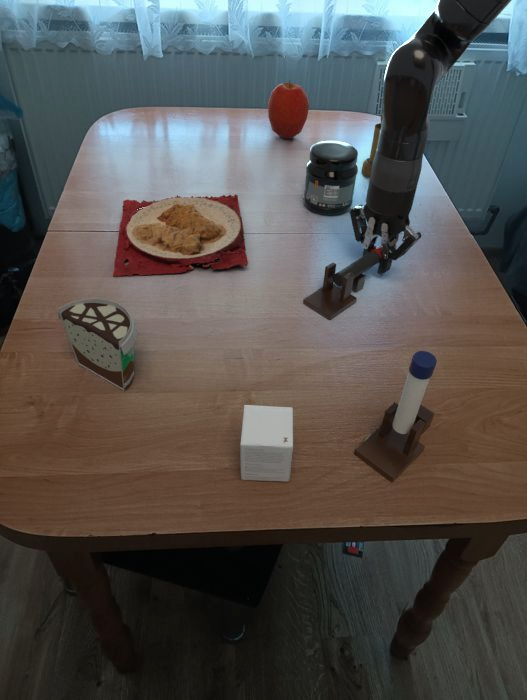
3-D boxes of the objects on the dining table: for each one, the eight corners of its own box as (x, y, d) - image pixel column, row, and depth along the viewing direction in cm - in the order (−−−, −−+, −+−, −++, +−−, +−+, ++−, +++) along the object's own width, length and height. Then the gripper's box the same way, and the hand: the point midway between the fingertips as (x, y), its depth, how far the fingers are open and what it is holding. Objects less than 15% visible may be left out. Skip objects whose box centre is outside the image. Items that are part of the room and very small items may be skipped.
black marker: (373, 256, 97) (376, 243, 95) (385, 262, 96) (388, 249, 94) (331, 283, 91) (333, 270, 89) (343, 290, 90) (345, 277, 88)
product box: (290, 442, 70) (294, 406, 65) (289, 483, 66) (294, 447, 61) (243, 440, 70) (243, 403, 65) (239, 480, 66) (239, 444, 61)
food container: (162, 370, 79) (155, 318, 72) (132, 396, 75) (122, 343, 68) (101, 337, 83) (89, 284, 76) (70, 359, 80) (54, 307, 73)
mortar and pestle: (355, 172, 127) (368, 92, 115) (373, 165, 131) (387, 86, 118) (377, 182, 124) (393, 101, 111) (395, 174, 127) (412, 94, 115)
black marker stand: (343, 277, 97) (348, 249, 93) (370, 292, 94) (376, 263, 90) (302, 303, 91) (305, 274, 87) (329, 320, 88) (334, 291, 84)
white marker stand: (402, 408, 75) (412, 378, 71) (439, 433, 72) (452, 404, 68) (353, 453, 69) (361, 424, 65) (392, 483, 66) (402, 454, 62)
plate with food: (237, 203, 115) (237, 187, 113) (248, 270, 97) (248, 254, 94) (124, 206, 113) (122, 191, 111) (112, 276, 94) (109, 260, 92)
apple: (266, 143, 137) (268, 85, 127) (267, 127, 144) (269, 71, 135) (306, 145, 137) (312, 87, 127) (305, 129, 144) (310, 73, 135)
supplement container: (330, 188, 121) (337, 135, 113) (362, 209, 115) (371, 154, 107) (292, 200, 116) (297, 145, 108) (323, 222, 110) (330, 166, 102)
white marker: (421, 347, 61) (408, 358, 59) (441, 359, 59) (428, 370, 58) (399, 415, 69) (387, 426, 68) (416, 426, 68) (404, 438, 66)
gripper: (445, 187, 84) (418, 277, 96) (372, 157, 91) (356, 245, 103) (418, 203, 80) (394, 295, 92) (344, 170, 87) (331, 260, 99)
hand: (374, 268), depth 97 cm, fingers closed on black marker, 2 cm apart
